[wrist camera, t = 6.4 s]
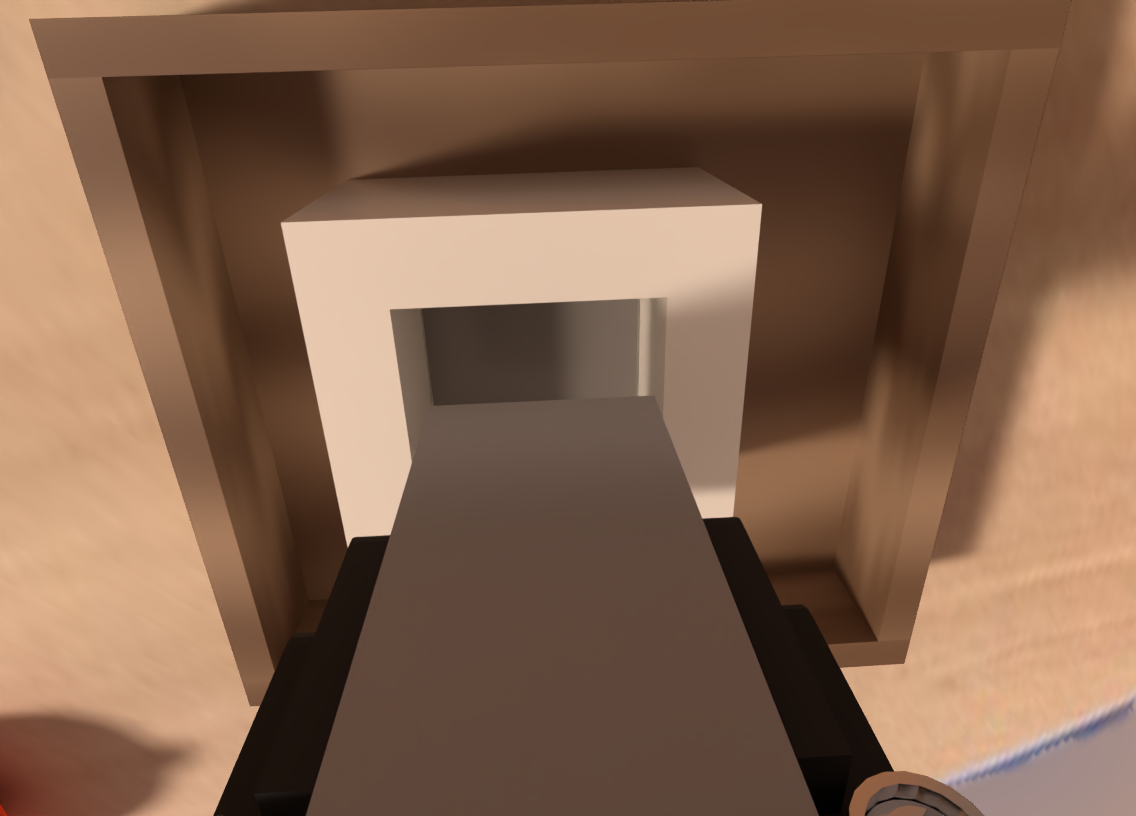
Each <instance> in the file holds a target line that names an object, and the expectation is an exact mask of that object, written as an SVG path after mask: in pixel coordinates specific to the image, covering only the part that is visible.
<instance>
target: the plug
mask: <svg viewBox="0 0 1136 816" xmlns="http://www.w3.org/2000/svg"><path fill="white" fill-rule="evenodd" d="M306 816H819V815H818V812H817V810H816V807H815V805H814V802H813V799H812V797H811V794H810V792H809V789H808V787H807V784H806V782H805V779H804V777H803V774H802V771H801V769H800V766H799V764H798V761H797V759H796V756H795V754H794V751H793V748H792V746H791V743H790V741H789V738H788V736H787V733H786V731H785V728H784V726H783V723H782V720H781V718H780V715H779V713H778V710H777V708H776V705H775V703H774V700H773V697H772V695H771V692H770V690H769V687H768V685H767V682H766V680H765V677H764V675H763V672H762V669H761V667H760V664H759V662H758V659H757V657H756V654H755V652H754V649H753V647H752V644H751V641H750V639H749V636H748V634H747V631H746V629H745V626H744V624H743V621H742V618H741V616H740V613H739V611H738V608H737V606H736V603H735V601H734V598H733V596H732V593H731V590H730V588H729V585H728V583H727V580H726V578H725V575H724V573H723V570H722V567H721V565H720V562H719V560H718V557H717V555H716V552H715V550H714V547H713V545H712V542H711V539H710V537H709V534H708V532H707V529H706V527H705V524H704V522H703V519H702V517H701V514H700V511H699V509H698V506H697V504H696V501H695V499H694V496H693V494H692V491H691V488H690V486H689V483H688V481H687V478H686V476H685V473H684V471H683V468H682V466H681V463H680V460H679V458H678V455H677V453H676V450H675V448H674V445H673V443H672V440H671V437H670V435H669V432H668V430H667V427H666V425H665V422H664V420H663V417H662V415H661V412H660V409H659V407H658V404H657V402H656V399H655V397H654V395H653V396H632V397H611V398H590V399H568V400H547V401H526V402H505V403H483V404H462V405H441V406H429V408H428V411H427V415H426V418H425V421H424V425H423V428H422V431H421V435H420V438H419V441H418V445H417V448H416V451H415V455H414V458H413V461H412V464H411V468H410V471H409V474H408V478H407V481H406V484H405V488H404V491H403V494H402V498H401V501H400V504H399V508H398V511H397V514H396V518H395V521H394V524H393V528H392V531H391V534H390V538H389V541H388V544H387V548H386V551H385V554H384V558H383V561H382V564H381V568H380V571H379V574H378V578H377V581H376V584H375V587H374V591H373V594H372V597H371V601H370V604H369V607H368V611H367V614H366V617H365V621H364V624H363V627H362V631H361V634H360V637H359V641H358V644H357V647H356V651H355V654H354V657H353V661H352V664H351V667H350V671H349V674H348V677H347V681H346V684H345V687H344V691H343V694H342V697H341V700H340V704H339V707H338V710H337V714H336V717H335V720H334V724H333V727H332V730H331V734H330V737H329V740H328V744H327V747H326V750H325V754H324V757H323V760H322V764H321V767H320V770H319V774H318V777H317V780H316V784H315V787H314V790H313V794H312V797H311V800H310V804H309V807H308V810H307V814H306Z"/></svg>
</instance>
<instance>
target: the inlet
mask: <svg viewBox="0 0 1136 816" xmlns="http://www.w3.org/2000/svg"><path fill="white" fill-rule="evenodd" d="M761 212H762V204H761V203H759V202H758V201H756V200H754V199H753V198H751V197H749V196H747V195H746V194H744V193H742V192H740V191H739V190H737V189H735V188H734V187H732V186H730V185H728V184H727V183H725V182H723V181H721V180H720V179H718V178H716V177H715V176H713V175H711V174H709V173H708V172H706V171H704V170H702V169H701V168H699V167H686V168H658V169H631V170H603V171H576V172H548V173H521V174H493V175H465V176H438V177H410V178H383V179H355V180H346V181H344V182H343V183H341V184H340V185H338V186H337V187H335V188H334V189H332V190H330V191H329V192H327V193H326V194H324V195H323V196H321V197H320V198H318V199H317V200H315V201H313V202H312V203H310V204H309V205H307V206H306V207H304V208H303V209H301V210H299V211H298V212H296V213H295V214H293V215H292V216H290V217H289V218H287V219H286V220H284V221H282V222H281V227H282V231H283V236H284V241H285V246H286V251H287V256H288V261H289V265H290V270H291V275H292V280H293V285H294V290H295V295H296V299H297V304H298V309H299V314H300V319H301V324H302V329H303V333H304V338H305V343H306V348H307V353H308V358H309V363H310V367H311V372H312V377H313V382H314V387H315V392H316V396H317V401H318V406H319V411H320V416H321V421H322V426H323V430H324V435H325V440H326V445H327V450H328V455H329V460H330V464H331V469H332V474H333V479H334V484H335V489H336V494H337V498H338V503H339V508H340V513H341V518H342V523H343V528H344V532H345V537H346V542H347V547H349V544H350V542H351V540H352V538H354V537H364V536H383V535H390V534H391V531H392V528H393V524H394V521H395V518H396V514H397V511H398V508H399V504H400V501H401V498H402V494H403V491H404V488H405V484H406V481H407V478H408V474H409V471H410V468H411V464H412V461H413V458H414V455H415V451H416V448H417V445H418V441H419V438H420V435H421V431H422V428H423V425H424V421H425V418H426V415H427V411H428V408H429V406H441V405H462V404H483V403H505V402H526V401H547V400H568V399H590V398H611V397H632V396H653V395H654V397H655V399H656V402H657V404H658V407H659V409H660V412H661V415H662V417H663V420H664V422H665V425H666V427H667V430H668V432H669V435H670V437H671V440H672V443H673V445H674V448H675V450H676V453H677V455H678V458H679V460H680V463H681V466H682V468H683V471H684V473H685V476H686V478H687V481H688V483H689V486H690V488H691V491H692V494H693V496H694V499H695V501H696V504H697V506H698V509H699V511H700V514H701V517H702V519H703V518H722V517H733V511H734V501H735V490H736V479H737V469H738V458H739V447H740V437H741V426H742V415H743V404H744V394H745V383H746V372H747V362H748V351H749V340H750V329H751V319H752V308H753V297H754V287H755V276H756V265H757V254H758V244H759V233H760V222H761Z"/></svg>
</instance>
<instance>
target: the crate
mask: <svg viewBox="0 0 1136 816" xmlns="http://www.w3.org/2000/svg"><path fill="white" fill-rule="evenodd" d="M1071 1H1072V0H721V1H683V2H646V3H609V4H572V5H534V6H497V7H460V8H422V9H385V10H348V11H310V12H273V13H236V14H198V15H161V16H124V17H86V18H49V19H29V21H30V24H31V27H32V30H33V34H34V37H35V40H36V43H37V46H38V49H39V52H40V55H41V58H42V61H43V65H44V68H45V71H46V74H47V77H48V80H49V83H50V86H51V89H52V92H53V96H54V99H55V102H56V105H57V108H58V111H59V114H60V117H61V120H62V124H63V127H64V130H65V133H66V136H67V139H68V142H69V145H70V148H71V151H72V155H73V158H74V161H75V164H76V167H77V170H78V173H79V176H80V179H81V183H82V186H83V189H84V192H85V195H86V198H87V201H88V204H89V207H90V210H91V214H92V217H93V220H94V223H95V226H96V229H97V232H98V235H99V238H100V241H101V245H102V248H103V251H104V254H105V257H106V260H107V263H108V266H109V269H110V273H111V276H112V279H113V282H114V285H115V288H116V291H117V294H118V297H119V300H120V304H121V307H122V310H123V313H124V316H125V319H126V322H127V325H128V328H129V332H130V335H131V338H132V341H133V344H134V347H135V350H136V353H137V356H138V359H139V363H140V366H141V369H142V372H143V375H144V378H145V381H146V384H147V387H148V391H149V394H150V397H151V400H152V403H153V406H154V409H155V412H156V415H157V418H158V422H159V425H160V428H161V431H162V434H163V437H164V440H165V443H166V446H167V449H168V453H169V456H170V459H171V462H172V465H173V468H174V471H175V474H176V477H177V481H178V484H179V487H180V490H181V493H182V496H183V499H184V502H185V505H186V508H187V512H188V515H189V518H190V521H191V524H192V527H193V530H194V533H195V536H196V540H197V543H198V546H199V549H200V552H201V555H202V558H203V561H204V564H205V567H206V571H207V574H208V577H209V580H210V583H211V586H212V589H213V592H214V595H215V598H216V602H217V605H218V608H219V611H220V614H221V617H222V620H223V623H224V626H225V630H226V633H227V636H228V639H229V642H230V645H231V648H232V651H233V654H234V657H235V661H236V664H237V667H238V670H239V673H240V676H241V679H242V682H243V685H244V689H245V692H246V695H247V698H248V701H249V704H250V706H260V705H261V703H262V700H263V698H264V696H265V693H266V691H267V688H268V686H269V684H270V681H271V679H272V677H273V674H274V672H275V670H276V667H277V665H278V663H279V660H280V658H281V656H282V653H283V651H284V649H285V646H286V644H287V643H288V641H289V639H290V638H291V637H292V636H293V635H294V634H295V633H310V632H316V630H317V628H318V625H319V623H320V620H321V617H322V615H323V612H324V609H325V607H326V604H327V602H328V599H329V596H330V594H331V591H332V588H333V586H334V583H335V581H336V578H337V575H338V573H339V570H340V568H341V565H342V562H343V560H344V557H345V554H346V552H347V549H348V547H347V542H346V537H345V532H344V528H343V523H342V518H341V513H340V508H339V503H338V498H337V494H336V489H335V484H334V479H333V474H332V469H331V464H330V460H329V455H328V450H327V445H326V440H325V435H324V430H323V426H322V421H321V416H320V411H319V406H318V401H317V396H316V392H315V387H314V382H313V377H312V372H311V367H310V363H309V358H308V353H307V348H306V343H305V338H304V333H303V329H302V324H301V319H300V314H299V309H298V304H297V299H296V295H295V290H294V285H293V280H292V275H291V270H290V265H289V261H288V256H287V251H286V246H285V241H284V236H283V231H282V227H281V222H282V221H284V220H286V219H287V218H289V217H290V216H292V215H293V214H295V213H296V212H298V211H299V210H301V209H303V208H304V207H306V206H307V205H309V204H310V203H312V202H313V201H315V200H317V199H318V198H320V197H321V196H323V195H324V194H326V193H327V192H329V191H330V190H332V189H334V188H335V187H337V186H338V185H340V184H341V183H343V182H344V181H346V180H355V179H383V178H410V177H438V176H465V175H493V174H521V173H548V172H576V171H603V170H631V169H658V168H686V167H699V168H701V169H702V170H704V171H706V172H708V173H709V174H711V175H713V176H715V177H716V178H718V179H720V180H721V181H723V182H725V183H727V184H728V185H730V186H732V187H734V188H735V189H737V190H739V191H740V192H742V193H744V194H746V195H747V196H749V197H751V198H753V199H754V200H756V201H758V202H759V203H761V204H762V212H761V222H760V233H759V244H758V254H757V265H756V276H755V287H754V297H753V308H752V319H751V329H750V340H749V351H748V362H747V372H746V383H745V394H744V404H743V415H742V426H741V437H740V447H739V458H738V469H737V479H736V490H735V501H734V511H733V517H738V518H740V520H741V521H742V523H743V525H744V527H745V529H746V532H747V534H748V536H749V538H750V540H751V542H752V544H753V546H754V548H755V550H756V552H757V555H758V557H759V559H760V561H761V563H762V565H763V567H764V569H765V571H766V573H767V576H768V578H769V580H770V582H771V584H772V586H773V588H774V590H775V592H776V594H777V596H778V599H779V601H780V603H781V605H797V604H802V605H804V606H805V607H807V609H808V610H809V612H810V613H811V614H812V616H813V618H814V620H815V622H816V624H817V625H818V627H819V629H820V631H821V633H822V635H823V637H824V639H825V641H826V643H827V645H828V646H829V648H830V650H831V652H832V654H833V656H834V658H835V660H836V662H837V664H838V665H839V667H840V668H843V667H858V666H873V665H889V664H904V662H905V659H906V655H907V651H908V647H909V643H910V639H911V635H912V631H913V627H914V623H915V619H916V615H917V611H918V607H919V603H920V599H921V595H922V591H923V587H924V583H925V579H926V575H927V571H928V567H929V563H930V559H931V556H932V552H933V548H934V544H935V540H936V536H937V532H938V528H939V524H940V520H941V516H942V512H943V508H944V504H945V500H946V496H947V492H948V488H949V484H950V480H951V476H952V472H953V468H954V464H955V460H956V457H957V453H958V449H959V445H960V441H961V437H962V433H963V429H964V425H965V421H966V417H967V413H968V409H969V405H970V401H971V397H972V393H973V389H974V385H975V381H976V377H977V373H978V369H979V365H980V361H981V358H982V354H983V350H984V346H985V342H986V338H987V334H988V330H989V326H990V322H991V318H992V314H993V310H994V306H995V302H996V298H997V294H998V290H999V286H1000V282H1001V278H1002V274H1003V270H1004V266H1005V262H1006V258H1007V255H1008V251H1009V247H1010V243H1011V239H1012V235H1013V231H1014V227H1015V223H1016V219H1017V215H1018V211H1019V207H1020V203H1021V199H1022V195H1023V191H1024V187H1025V183H1026V179H1027V175H1028V171H1029V167H1030V163H1031V159H1032V156H1033V152H1034V148H1035V144H1036V140H1037V136H1038V132H1039V128H1040V124H1041V120H1042V116H1043V112H1044V108H1045V104H1046V100H1047V96H1048V92H1049V88H1050V84H1051V80H1052V76H1053V72H1054V68H1055V64H1056V60H1057V56H1058V53H1059V49H1060V45H1061V41H1062V37H1063V33H1064V29H1065V25H1066V21H1067V17H1068V13H1069V9H1070V5H1071Z"/></svg>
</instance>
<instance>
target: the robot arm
mask: <svg viewBox="0 0 1136 816" xmlns="http://www.w3.org/2000/svg"><path fill="white" fill-rule="evenodd" d="M703 522H704V524H705V527H706V529H707V532H708V534H709V537H710V539H711V542H712V545H713V547H714V550H715V552H716V555H717V557H718V560H719V562H720V565H721V567H722V570H723V573H724V575H725V578H726V580H727V583H728V585H729V588H730V590H731V593H732V596H733V598H734V601H735V603H736V606H737V608H738V611H739V613H740V616H741V618H742V621H743V624H744V626H745V629H746V631H747V634H748V636H749V639H750V641H751V644H752V647H753V649H754V652H755V654H756V657H757V659H758V662H759V664H760V667H761V669H762V672H763V675H764V677H765V680H766V682H767V685H768V687H769V690H770V692H771V695H772V697H773V700H774V703H775V705H776V708H777V710H778V713H779V715H780V718H781V720H782V723H783V726H784V728H785V731H786V733H787V736H788V738H789V741H790V743H791V746H792V748H793V751H794V754H795V756H796V759H797V761H798V764H799V766H800V769H801V771H802V774H803V777H804V779H805V782H806V784H807V787H808V789H809V792H810V794H811V797H812V799H813V802H814V805H815V807H816V810H817V812H818V815H819V816H984V815H983V814H982V813H981V812H980V811H979V810H978V808H976V806H975V805H974V804H973V803H972V802H971V801H969V800H968V799H966V798H965V797H964V796H962V795H961V794H960V793H958V792H957V791H955V790H954V789H953V788H951V787H950V786H947V785H945V784H943V783H941V782H939V781H937V780H934V779H932V778H930V777H928V776H924V775H920V774H915V773H911V772H906V771H895V772H894V770H893V768H892V766H891V765H890V763H889V761H888V759H887V757H886V755H885V753H884V751H883V749H882V747H881V745H880V744H879V742H878V740H877V738H876V736H875V734H874V732H873V730H872V728H871V726H870V725H869V723H868V721H867V719H866V717H865V715H864V713H863V711H862V709H861V707H860V705H859V704H858V702H857V700H856V698H855V696H854V694H853V692H852V690H851V688H850V686H849V685H848V683H847V681H846V679H845V677H844V675H843V673H842V671H841V669H840V667H839V665H838V664H837V662H836V660H835V658H834V656H833V654H832V652H831V650H830V648H829V646H828V645H827V643H826V641H825V639H824V637H823V635H822V633H821V631H820V629H819V627H818V625H817V624H816V622H815V620H814V618H813V616H812V614H811V613H810V612H809V610H808V609H807V607H805V606H804V605H802V604H797V605H781V603H780V601H779V599H778V596H777V594H776V592H775V590H774V588H773V586H772V584H771V582H770V580H769V578H768V576H767V573H766V571H765V569H764V567H763V565H762V563H761V561H760V559H759V557H758V555H757V552H756V550H755V548H754V546H753V544H752V542H751V540H750V538H749V536H748V534H747V532H746V529H745V527H744V525H743V523H742V521H741V520H740V518H738V517H722V518H703ZM389 538H390V535H383V536H364V537H354V538H352V540H351V542H350V544H349V547H348V549H347V552H346V554H345V557H344V560H343V562H342V565H341V568H340V570H339V573H338V575H337V578H336V581H335V583H334V586H333V588H332V591H331V594H330V596H329V599H328V602H327V604H326V607H325V609H324V612H323V615H322V617H321V620H320V623H319V625H318V628H317V630H316V632H310V633H295V634H294V635H293V636H292V637H291V638H290V639H289V641H288V643H287V644H286V646H285V649H284V651H283V653H282V656H281V658H280V660H279V663H278V665H277V667H276V670H275V672H274V674H273V677H272V679H271V681H270V684H269V686H268V688H267V691H266V693H265V696H264V698H263V700H262V703H261V705H260V707H259V710H258V712H257V714H256V717H255V719H254V721H253V724H252V726H251V728H250V731H249V733H248V735H247V738H246V740H245V743H244V745H243V747H242V750H241V752H240V754H239V757H238V759H237V761H236V764H235V766H234V768H233V771H232V773H231V775H230V778H229V780H228V783H227V785H226V787H225V790H224V792H223V794H222V797H221V799H220V801H219V804H218V806H217V808H216V811H215V813H214V815H213V816H306V814H307V810H308V807H309V804H310V800H311V797H312V794H313V790H314V787H315V784H316V780H317V777H318V774H319V770H320V767H321V764H322V760H323V757H324V754H325V750H326V747H327V744H328V740H329V737H330V734H331V730H332V727H333V724H334V720H335V717H336V714H337V710H338V707H339V704H340V700H341V697H342V694H343V691H344V687H345V684H346V681H347V677H348V674H349V671H350V667H351V664H352V661H353V657H354V654H355V651H356V647H357V644H358V641H359V637H360V634H361V631H362V627H363V624H364V621H365V617H366V614H367V611H368V607H369V604H370V601H371V597H372V594H373V591H374V587H375V584H376V581H377V578H378V574H379V571H380V568H381V564H382V561H383V558H384V554H385V551H386V548H387V544H388V541H389Z"/></svg>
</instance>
